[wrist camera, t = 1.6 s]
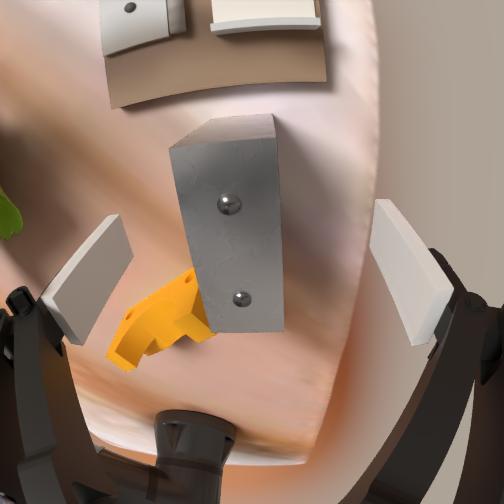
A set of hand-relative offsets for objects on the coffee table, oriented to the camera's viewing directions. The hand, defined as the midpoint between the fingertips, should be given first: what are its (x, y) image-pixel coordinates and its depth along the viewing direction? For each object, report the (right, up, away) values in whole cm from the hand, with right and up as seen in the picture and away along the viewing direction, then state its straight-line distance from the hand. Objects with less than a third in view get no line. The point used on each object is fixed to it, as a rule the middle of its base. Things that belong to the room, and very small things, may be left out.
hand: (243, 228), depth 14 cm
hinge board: (-3, +18, -3) cm, 18 cm away
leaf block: (0, +4, +6) cm, 7 cm away
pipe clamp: (-7, -6, +13) cm, 16 cm away
